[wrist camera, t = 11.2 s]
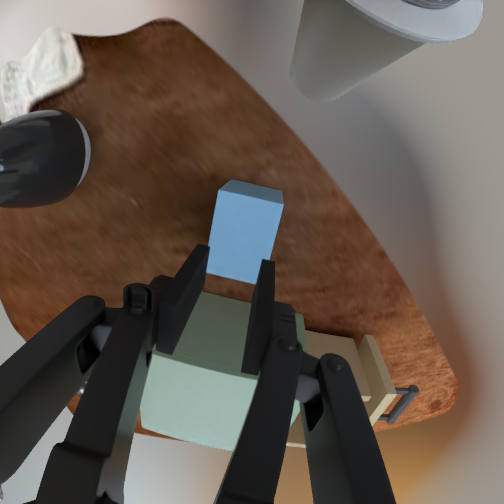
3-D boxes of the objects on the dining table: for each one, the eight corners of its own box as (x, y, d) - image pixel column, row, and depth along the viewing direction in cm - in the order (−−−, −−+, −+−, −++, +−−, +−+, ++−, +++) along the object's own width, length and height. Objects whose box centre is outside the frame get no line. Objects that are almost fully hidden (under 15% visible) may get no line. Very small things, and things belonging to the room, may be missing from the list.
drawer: (413, 341, 32) (441, 394, 23) (375, 400, 36) (389, 452, 27) (263, 314, 32) (258, 377, 23) (243, 382, 36) (234, 442, 27)
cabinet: (303, 314, 32) (312, 389, 22) (274, 387, 37) (271, 457, 26) (176, 284, 32) (136, 348, 22) (169, 362, 37) (141, 427, 26)
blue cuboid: (231, 179, 28) (218, 189, 22) (281, 190, 28) (283, 204, 22) (217, 245, 30) (203, 272, 24) (265, 256, 30) (262, 286, 24)
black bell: (60, 97, 25) (-40, 95, 11) (119, 132, 27) (11, 139, 12) (32, 170, 28) (-59, 199, 14) (84, 211, 30) (-11, 260, 16)
